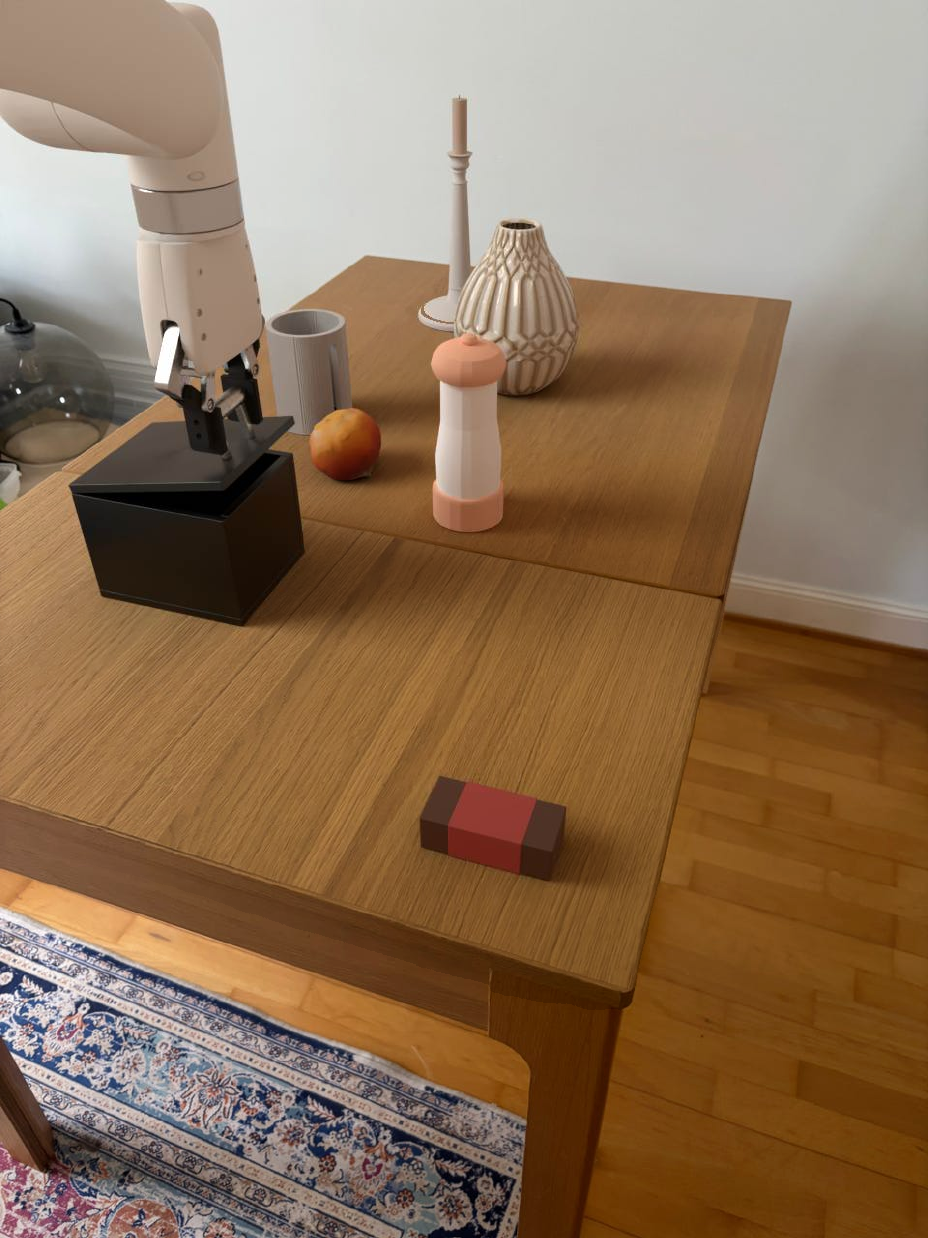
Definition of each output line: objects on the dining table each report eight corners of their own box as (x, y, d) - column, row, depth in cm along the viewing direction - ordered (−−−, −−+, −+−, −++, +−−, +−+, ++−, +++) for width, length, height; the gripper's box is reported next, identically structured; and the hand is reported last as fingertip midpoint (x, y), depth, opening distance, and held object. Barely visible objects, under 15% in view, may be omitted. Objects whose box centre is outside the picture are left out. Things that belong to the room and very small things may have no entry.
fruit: (396, 476, 102) (353, 417, 98) (336, 508, 104) (292, 452, 100) (401, 441, 108) (361, 385, 104) (345, 473, 111) (304, 418, 107)
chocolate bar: (564, 835, 65) (567, 805, 63) (549, 883, 62) (552, 852, 60) (440, 804, 67) (439, 774, 65) (420, 848, 64) (418, 818, 62)
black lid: (295, 423, 84) (277, 365, 81) (224, 490, 75) (201, 427, 72) (154, 430, 90) (133, 375, 87) (71, 493, 80) (44, 434, 77)
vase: (582, 365, 129) (595, 210, 117) (563, 414, 117) (575, 247, 105) (470, 354, 133) (470, 202, 120) (440, 400, 120) (437, 237, 108)
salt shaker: (517, 515, 98) (524, 335, 86) (465, 540, 94) (465, 355, 83) (471, 489, 102) (472, 314, 91) (419, 512, 99) (412, 332, 87)
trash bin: (305, 551, 93) (293, 452, 86) (242, 626, 83) (223, 521, 77) (175, 527, 96) (154, 430, 90) (101, 596, 87) (71, 493, 80)
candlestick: (408, 327, 141) (400, 100, 122) (430, 299, 151) (425, 85, 132) (493, 334, 138) (497, 104, 120) (509, 305, 148) (515, 88, 130)
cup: (296, 399, 121) (285, 305, 113) (363, 407, 119) (356, 312, 111) (265, 429, 114) (251, 332, 107) (335, 439, 112) (326, 340, 105)
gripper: (206, 176, 76) (239, 390, 87) (71, 233, 63) (130, 475, 74) (290, 183, 74) (313, 401, 85) (169, 244, 61) (214, 491, 72)
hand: (227, 433), depth 79 cm, fingers closed on black lid, 5 cm apart
